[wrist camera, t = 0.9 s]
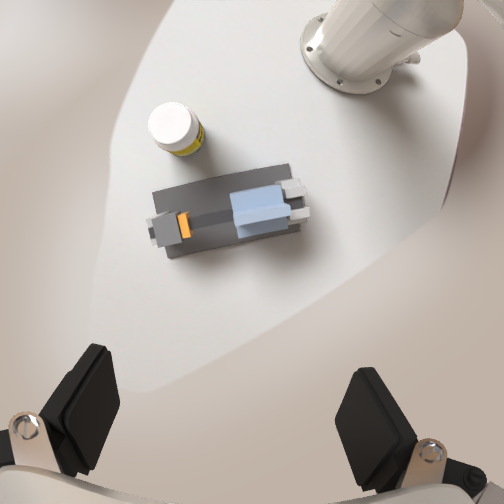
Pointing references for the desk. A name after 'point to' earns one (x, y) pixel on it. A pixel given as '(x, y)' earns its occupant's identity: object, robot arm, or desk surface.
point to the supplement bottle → (176, 129)
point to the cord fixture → (218, 210)
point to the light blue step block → (259, 210)
